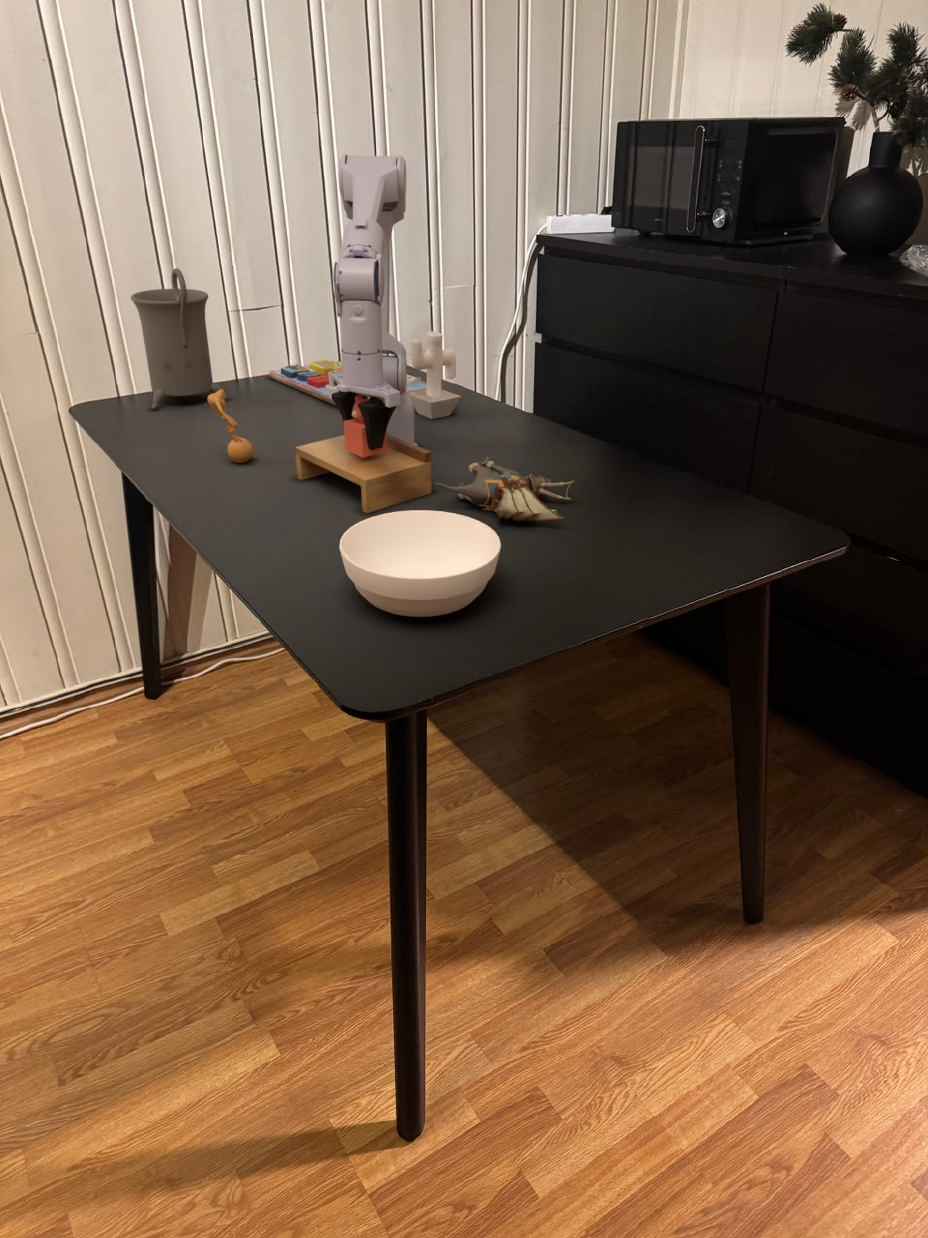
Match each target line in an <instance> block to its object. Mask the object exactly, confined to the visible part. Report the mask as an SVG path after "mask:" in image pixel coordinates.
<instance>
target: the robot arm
mask: <svg viewBox="0 0 928 1238" xmlns="http://www.w3.org/2000/svg"><path fill="white" fill-rule="evenodd" d="M337 167H338V168H337V169H338V172H337V174H338V189H339V195H340V197H341V201H342V206H343V210H344V212H345V215H346V218H347V219H349V221H348V222H347V223H346V224H345V226H344V228H343V233H342V241H341V249H340V257H339V261H335V262H334V263H333V268H332V288H333V294H334V298H335V305H336V315H337V316H336V317H338V318H339V334H340V354H341V361H342V371H340V370H338V371H333V372H329V373H328V374H329V385H330V386H337V390H338V392H336V393H332V394H331V397H332V400H333V401H334V403H335V404H336V406H335V407H336V408H337V409H338V412H339V414H340V417H341V420H342V422H343V423H344V421H346V420H350V419H354V417H353V416H352V412H353V406H354V404H355V403H356V401H355V397H356V396H357V395H361V396H362V397H363V399H370V401H366V402H361V403H358V407H359V409H360V412H361V414H362V417H363V420H364V423H365V428H366V437H367V443H368V447H369V449H370V450H375V449H379V448H382V447H383V443H384V438H385V434H389V435H391V436H394V437H396V438H399V439H401V440H404V441H406V442H409V443H411V444H414V445H416V446H418V444H417V443H416V442H415V407H414V406H413V404H412V401H411V399H410V398H409V396H408V395H407V394H406V393H405V392H406V388H407V372H408V363H407V350H406V348H405V346H404V344H403V343H402V342H401V341H399V340H398V339H397V338H396V337H394V336H393V335H392V334H391V333H390V289H391V287H390V283H391V281H390V277H391V275H390V273H391V271H390V270H391V269H390V268H391V266H390V265H391V238H392V234H393V229H394V225H395V224H397V223H399V222H400V221H403V220H404V219H405V213H406V210H407V208H406V207H407V206H406V205H407V204H406V203H407V202H406V201H407V163H406V160H405V158H404V157H403V155H397V156H390V155H389V156H387V155H386V156H384V155H382V156H381V155H348V154H346V153H345V154H342V155H341V157H340V158H339V159H338V166H337Z"/></svg>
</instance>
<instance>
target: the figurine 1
mask: <svg viewBox="0 0 928 1238" xmlns="http://www.w3.org/2000/svg"><path fill="white" fill-rule="evenodd" d="M224 396H227V394H226V392H225V390H224V389H223V388H222V389H220V390H219V391H218V392H216V393H211V394H209V395H208V396H207V402H208V403H207V404H208V405H209V406H210V407H211V408H212V410H213V411H214V412H215V413H216V415H217V416H218V417H220V419H222V420H223V421H224V423H225V424H227V426H226V430H227V433H228V434H229V437H231V438H232V439H231V441H230V442H229V443H228V445H227V449H226V450H227V454H228V457H229V459H231V460H232V461H233V462H235V463H239V464H243V463H246V462H249V461H250V460H251V459H252V457H253V455H254V454H253V453H254V447H253V444H252V443H251V441H249V440H248V439H246V438H244V437H241V436H239V435H235V434H234V432H235V430H237V428H238V423H237V422H236V421H235V419H234V418H232V417H231V415H229V414H227V411H226V404H227V403H226V400H224Z"/></svg>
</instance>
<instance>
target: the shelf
mask: <svg viewBox="0 0 928 1238" xmlns="http://www.w3.org/2000/svg"><path fill="white" fill-rule="evenodd" d="M386 442H387V451H385V452H382V453H378V454H374V455H371V456H367V457H361V456H358V455H356V454H354V453H352V452H349V451H347V450H345V434H343V435H339V436H335V437H329V438H327V439H326V438H325V439H323V440H318V441H314V442H310V443H306V444H303V445H298V446H295V447H294V452H295V462H296V476H297V477H296V478H297V479H298V480H300V481H304V480H309V479H311V478H314V477H318V476H322V475H326V474H330V473H333V474H335V475H337V476H339V477H342V478H343V479H345V480H347V481H350V482H352V483H354V484H355V485H358V486H360V489H361V490H360V491H361V511H362V512H364V513H366V514H370V513H373V512H376V511H380V510H382V509H385V508H386V509H387V508H388V507H392V506H396V505H398V504H401V503H405V502H408V501H411V500H414V499H417V498H421V497H423V496H426V495H430V494H432V450H428V449H426V448H423V447H420V446H418V445H417V446H416V445H414V444H411V443H409V442H406V441H404V440H401V439H399V438H396V437H394V436H391V435H389V434H386Z"/></svg>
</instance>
